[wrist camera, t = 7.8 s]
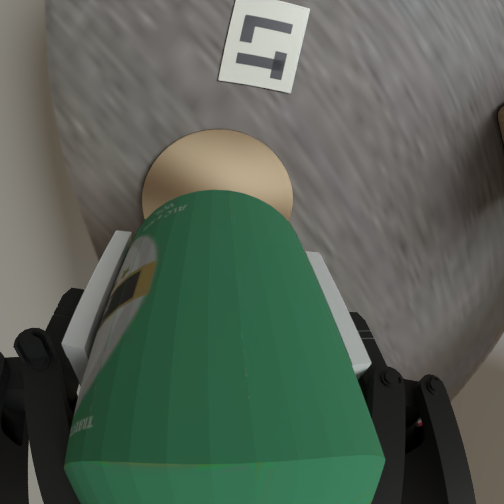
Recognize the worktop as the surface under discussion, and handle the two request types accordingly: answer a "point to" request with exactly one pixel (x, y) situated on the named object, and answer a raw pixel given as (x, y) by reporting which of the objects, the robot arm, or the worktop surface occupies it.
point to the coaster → (218, 170)
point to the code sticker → (264, 44)
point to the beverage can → (220, 371)
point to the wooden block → (501, 121)
